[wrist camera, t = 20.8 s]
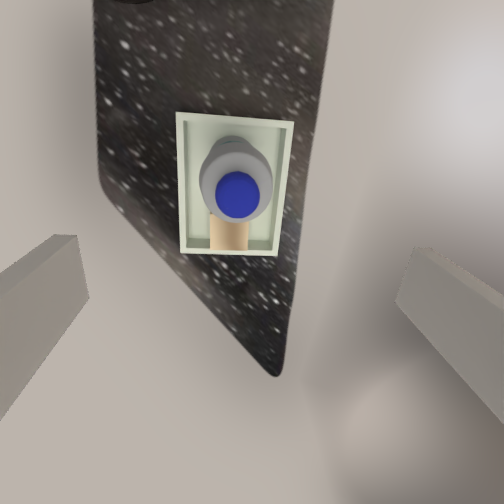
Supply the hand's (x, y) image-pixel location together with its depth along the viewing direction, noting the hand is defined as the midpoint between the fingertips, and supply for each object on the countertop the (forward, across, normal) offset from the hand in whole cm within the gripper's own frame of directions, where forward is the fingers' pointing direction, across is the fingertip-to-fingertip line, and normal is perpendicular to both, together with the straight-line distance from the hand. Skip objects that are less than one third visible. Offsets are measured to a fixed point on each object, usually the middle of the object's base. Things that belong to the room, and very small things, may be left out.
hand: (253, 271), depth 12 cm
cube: (+30, 0, -8) cm, 31 cm away
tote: (+31, 0, -4) cm, 31 cm away
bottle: (+30, 0, 0) cm, 30 cm away
